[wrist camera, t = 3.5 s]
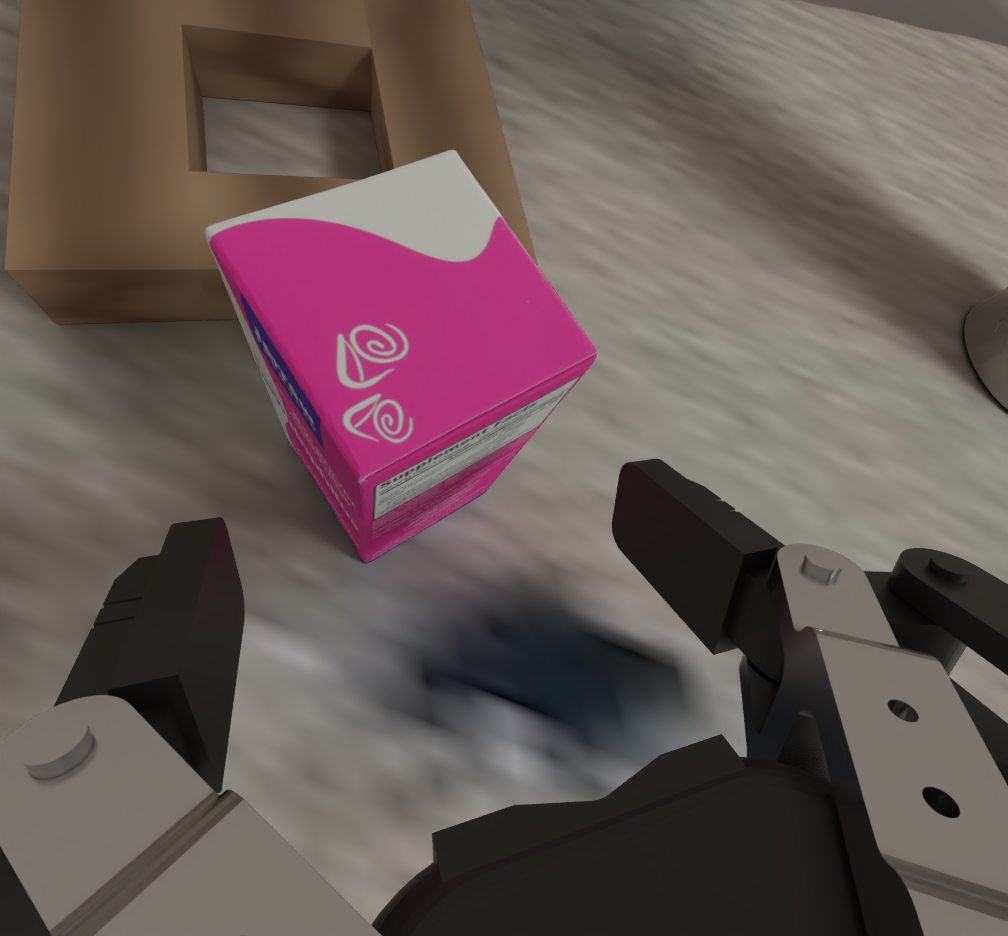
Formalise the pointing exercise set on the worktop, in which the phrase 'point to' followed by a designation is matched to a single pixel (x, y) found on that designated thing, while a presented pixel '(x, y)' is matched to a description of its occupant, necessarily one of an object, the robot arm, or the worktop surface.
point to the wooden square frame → (181, 138)
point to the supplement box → (400, 341)
